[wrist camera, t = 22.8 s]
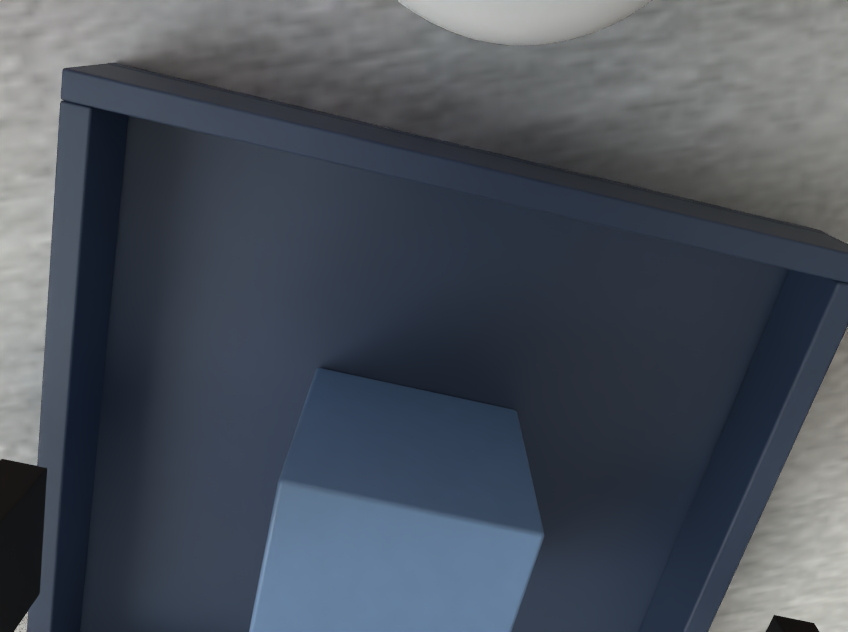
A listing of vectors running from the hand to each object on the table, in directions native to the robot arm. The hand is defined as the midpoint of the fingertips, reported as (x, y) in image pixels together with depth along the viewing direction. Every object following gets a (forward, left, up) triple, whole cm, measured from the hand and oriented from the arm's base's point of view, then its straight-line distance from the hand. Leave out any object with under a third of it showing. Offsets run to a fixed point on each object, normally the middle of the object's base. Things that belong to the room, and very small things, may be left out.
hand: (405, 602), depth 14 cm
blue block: (+1, 0, -6) cm, 6 cm away
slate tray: (+1, 0, -6) cm, 6 cm away
